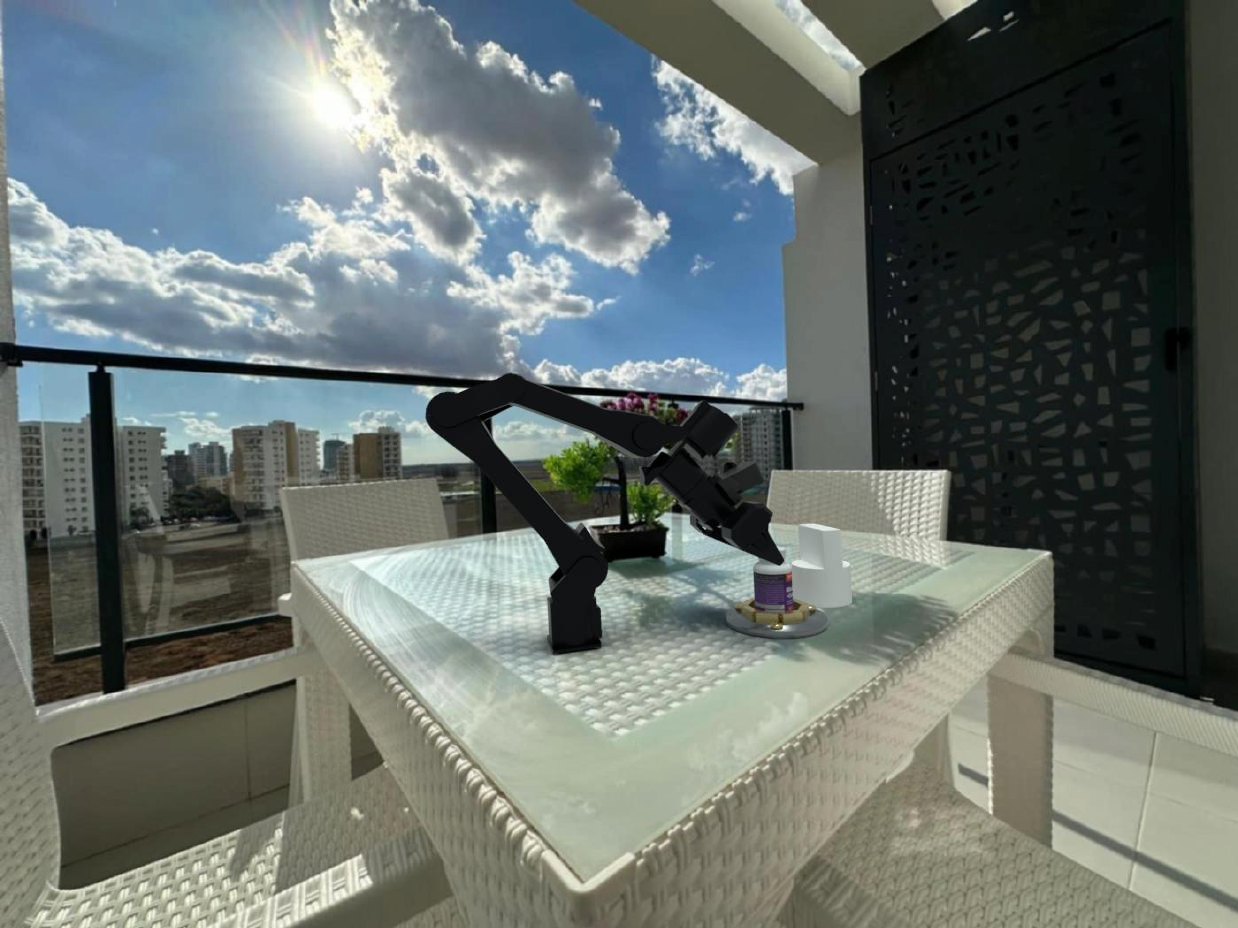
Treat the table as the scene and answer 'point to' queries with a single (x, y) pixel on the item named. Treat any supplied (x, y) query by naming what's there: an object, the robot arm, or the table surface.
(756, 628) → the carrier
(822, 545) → the base with upright slab
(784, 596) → the pill bottle
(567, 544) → the robot arm
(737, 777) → the table surface
